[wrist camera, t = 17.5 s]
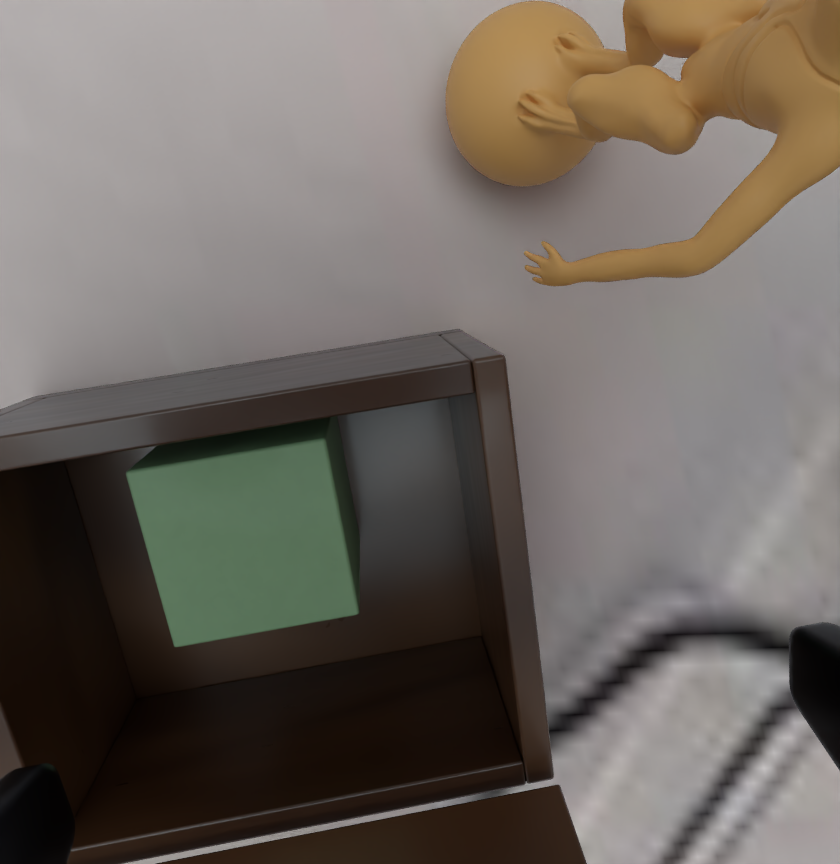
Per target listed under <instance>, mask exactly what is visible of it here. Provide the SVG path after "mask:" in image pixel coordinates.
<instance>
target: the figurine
mask: <svg viewBox="0 0 840 864" xmlns="http://www.w3.org/2000/svg"><path fill="white" fill-rule="evenodd" d="M623 22H624V29H625V42H626V51H627V52H625V51H619V50H611V49H604V46H603V44H602V42H601V41H600V39H599V37H598V36H597V34H596V33H595V31H594V30H593V29H592V27H591V26H590V25H589V24H588V23H587V22H586V21H585V20H584V19H583V18H581V17H580V16H579V15H577V14H576V13H575V12H573V11H571V10H569V9H568V8H565V7H563V6H561V5H558V4H554V3H550V2H544V1H526V2H520V3H516V4H512V5H509V6H507V7H504V8H502V9H500V10H498V11H496V12H494V13H493V14H491V15H490V16H488V17H487V18H485V19H484V20H483V21H482V22H481V23H479V24H478V25H477V26H476V27H475V28H474V29H473V30H472V32H471V33H470V34H469V35H468V36H467V38H466V39H465V41H464V42H463V44H462V45H461V47H460V48H459V50H458V52H457V54H456V56H455V58H454V61H453V63H452V66H451V69H450V72H449V76H448V81H447V87H446V115H447V121H448V125H449V129H450V132H451V135H452V137H453V140H454V142H455V144H456V146H457V148H458V149H459V151H460V152H461V154H462V155H463V157H464V158H465V159H466V160H467V162H468V163H469V164H470V165H471V166H472V167H473V168H475V169H476V170H477V171H478V172H480V173H481V174H482V175H484V176H486V177H487V178H489V179H491V180H493V181H496V182H499V183H502V184H505V185H510V186H534V185H539V184H543V183H546V182H549V181H552V180H554V179H556V178H558V177H560V176H562V175H564V174H565V173H567V172H569V171H570V170H571V169H573V168H574V167H575V166H576V165H577V164H579V163H580V162H581V161H582V160H583V159H584V158H585V156H586V155H587V154H588V153H589V152H590V150H591V149H592V148H593V146H594V145H595V143H596V142H604V141H607V140H608V139H610V138H611V137H612V136H614V137H617V138H621V139H626V140H633V141H639V142H643V143H645V144H648V145H650V146H652V147H653V148H655V149H656V150H658V151H660V152H663V153H666V154H672V155H677V154H682V153H684V152H686V151H688V150H689V149H690V148H692V147H693V145H694V144H695V143H696V141H697V139H698V137H699V135H700V133H701V131H702V129H703V127H704V124H705V122H706V121H708V120H709V119H711V118H713V117H716V116H723V117H726V118H730V119H736V120H742V121H743V122H745V123H747V124H749V125H751V126H753V127H756V128H759V129H764V130H768V131H770V132H773V133H775V134H778V135H777V139H776V141H775V143H774V145H773V147H772V149H771V150H770V152H769V153H768V154H767V156H766V157H765V158H764V159H763V161H762V162H761V163H760V164H759V165H758V166H757V167H756V168H755V169H754V170H753V171H752V172H751V173H750V174H749V175H748V176H747V177H746V178H745V179H744V180H743V181H742V183H741V184H740V185H739V186H738V187H737V188H736V189H735V190H734V191H733V192H732V194H731V195H730V196H729V197H728V198H727V199H726V200H725V201H724V202H723V204H722V205H721V206H720V207H719V208H718V209H717V210H716V211H715V213H714V214H713V215H712V216H711V217H710V219H709V220H708V221H707V222H706V224H705V225H704V226H703V227H702V229H701V230H700V231H699V232H698V233H697V234H696V235H695V236H694V237H693V238H691V239H689V240H685V241H680V242H672V243H665V244H660V245H656V246H652V247H648V248H642V249H624V250H616V251H610V252H605V253H600V254H597V255H594V256H590V257H587V258H584V259H581V260H578V261H575V262H566V261H565V260H563V258H562V257H561V256H560V254H559V253H558V252H557V250H556V249H555V248H554V247H553V246H551V245H550V244H549V243H547V242H544V241H542V242H541V244H542V246H543V247H544V248H545V250H546V251H547V252H548V254H549V259H547V258H544V257H542V256H539V255H535V254H532V253H530V252H528V251H525V252H524V255H525V256H526V257H528V258H529V259H530V260H532V261H534V262H536V263H537V264H538V265H539V267H540V268H538V267H532V266H528V265H526V266H525V269H526V270H527V271H528V272H530V273H532V274H535V275H539V276H540V277H541V278H537V277H533V278H532V279H533V281H535V282H537V283H540V284H543V285H548V286H566V285H571V284H575V283H579V282H610V281H618V280H630V279H638V278H644V277H670V278H680V277H689V276H694V275H698V274H701V273H704V272H706V271H708V270H710V269H711V268H713V267H714V266H716V265H717V264H718V263H720V262H721V261H722V260H724V259H725V258H726V257H727V256H729V255H730V254H731V253H732V252H733V251H735V250H736V249H737V248H738V247H739V246H740V245H742V244H743V243H744V242H745V241H746V240H747V239H749V238H750V237H751V236H752V235H753V234H754V233H755V232H757V231H758V230H759V229H760V228H761V227H762V226H763V225H765V224H766V223H767V222H768V221H769V220H770V219H771V218H772V217H773V216H774V215H775V214H776V213H777V212H778V211H779V210H780V209H781V208H782V207H783V206H784V205H786V204H787V203H788V202H789V201H790V200H791V199H792V198H794V197H795V196H796V195H798V194H799V193H801V192H802V191H804V190H805V189H807V188H808V187H810V186H812V185H813V184H815V183H817V182H818V181H820V180H822V179H823V178H825V177H826V176H828V175H829V174H830V173H832V172H833V171H834V170H836V169H837V168H838V167H839V166H840V0H625V2H624V7H623ZM663 54H666V55H668V56H671V57H677V58H688V59H687V60H686V62H685V63H684V65H683V67H682V71H681V80H680V81H676V80H674V79H672V78H671V77H669V76H668V75H666V74H665V73H664V72H662V71H661V70H659V69H657V68H654V67H652V66H654V65H655V64H657V63H658V62H659V61H660V59H661V58H662V56H663Z"/></svg>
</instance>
